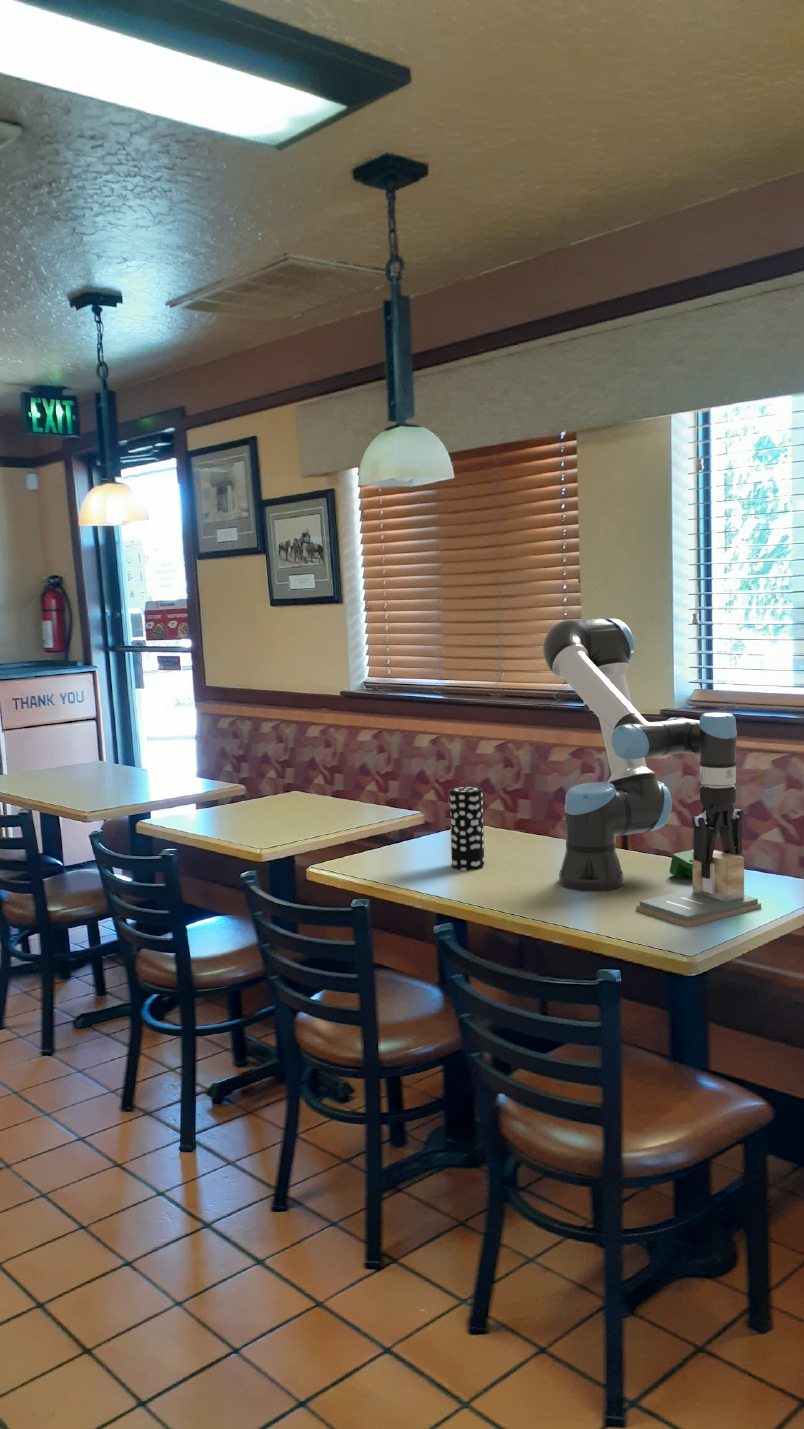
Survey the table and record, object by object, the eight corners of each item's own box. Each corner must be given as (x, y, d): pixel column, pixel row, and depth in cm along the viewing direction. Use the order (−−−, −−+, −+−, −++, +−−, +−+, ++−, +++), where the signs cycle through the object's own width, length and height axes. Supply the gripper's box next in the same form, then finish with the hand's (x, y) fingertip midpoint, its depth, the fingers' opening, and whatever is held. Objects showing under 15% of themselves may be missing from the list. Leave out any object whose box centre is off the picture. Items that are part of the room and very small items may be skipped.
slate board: (636, 910, 232) (636, 901, 232) (707, 892, 243) (707, 884, 243) (688, 927, 219) (688, 917, 219) (761, 907, 230) (761, 898, 230)
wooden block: (692, 891, 237) (692, 852, 236) (708, 888, 240) (708, 848, 239) (727, 902, 228) (727, 860, 227) (744, 898, 231) (744, 857, 230)
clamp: (690, 897, 255) (686, 868, 251) (671, 886, 260) (667, 857, 256) (725, 871, 260) (721, 842, 255) (706, 861, 265) (702, 832, 260)
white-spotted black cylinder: (479, 871, 268) (477, 792, 266) (447, 869, 271) (445, 791, 269) (487, 863, 276) (486, 786, 274) (456, 861, 279) (454, 786, 277)
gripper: (701, 792, 223) (701, 901, 226) (760, 782, 233) (759, 886, 235) (674, 787, 230) (675, 893, 232) (733, 777, 239) (733, 879, 242)
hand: (717, 889), depth 234 cm, fingers closed on wooden block, 5 cm apart
